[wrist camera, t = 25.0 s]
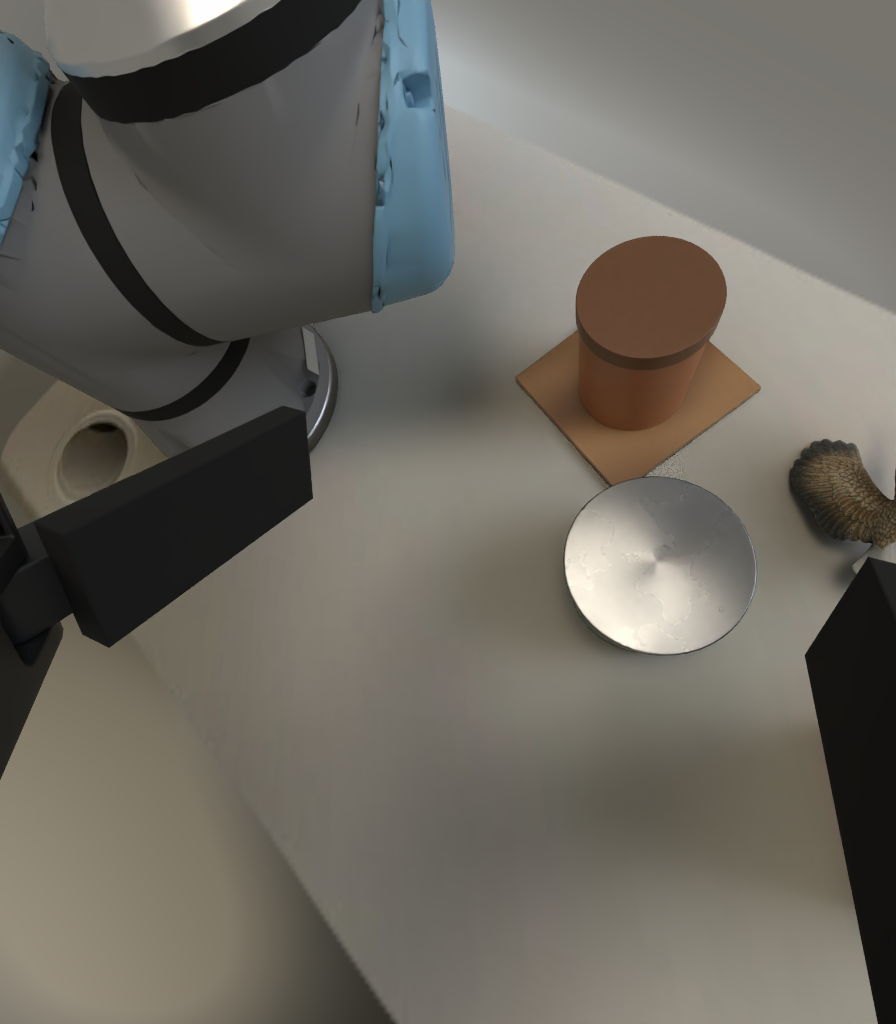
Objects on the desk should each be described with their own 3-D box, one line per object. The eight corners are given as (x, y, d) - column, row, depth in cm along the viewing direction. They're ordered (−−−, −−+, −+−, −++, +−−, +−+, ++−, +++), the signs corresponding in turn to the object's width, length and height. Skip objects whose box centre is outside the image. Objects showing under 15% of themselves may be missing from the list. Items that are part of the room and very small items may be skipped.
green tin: (538, 567, 33) (528, 545, 26) (648, 485, 33) (666, 442, 26) (630, 686, 30) (644, 694, 23) (753, 597, 30) (802, 580, 23)
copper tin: (555, 380, 36) (547, 295, 27) (638, 317, 35) (657, 211, 27) (624, 454, 33) (639, 385, 25) (714, 387, 33) (761, 294, 24)
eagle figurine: (1027, 542, 26) (937, 386, 28) (1062, 572, 21) (949, 377, 22) (851, 584, 31) (782, 450, 33) (843, 618, 26) (761, 455, 27)
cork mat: (515, 380, 37) (514, 377, 36) (640, 286, 36) (641, 281, 36) (618, 495, 33) (618, 493, 33) (759, 390, 33) (762, 387, 32)
